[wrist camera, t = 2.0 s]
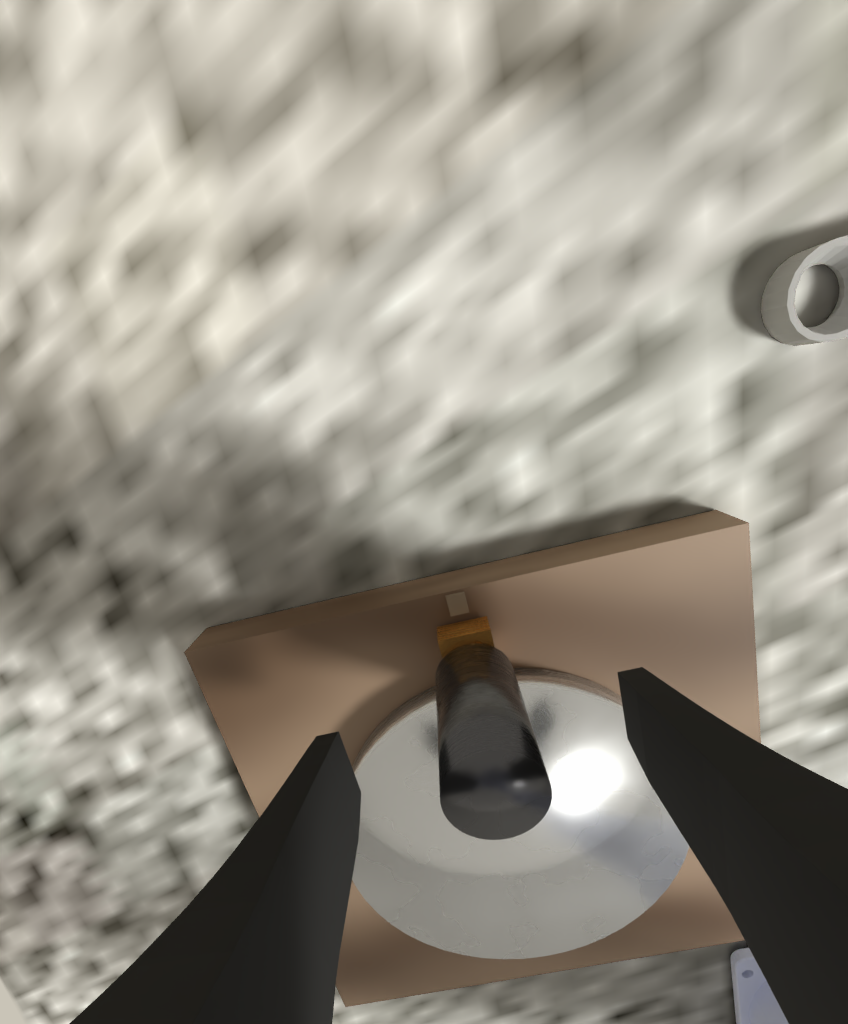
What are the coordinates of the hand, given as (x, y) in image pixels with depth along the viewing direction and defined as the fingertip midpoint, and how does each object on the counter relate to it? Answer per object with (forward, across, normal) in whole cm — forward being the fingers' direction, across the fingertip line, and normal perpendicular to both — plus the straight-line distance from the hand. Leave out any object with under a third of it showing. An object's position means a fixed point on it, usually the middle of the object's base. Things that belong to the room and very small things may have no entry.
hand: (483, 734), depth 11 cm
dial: (+3, 0, +7) cm, 7 cm away
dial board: (+5, 0, +7) cm, 8 cm away
